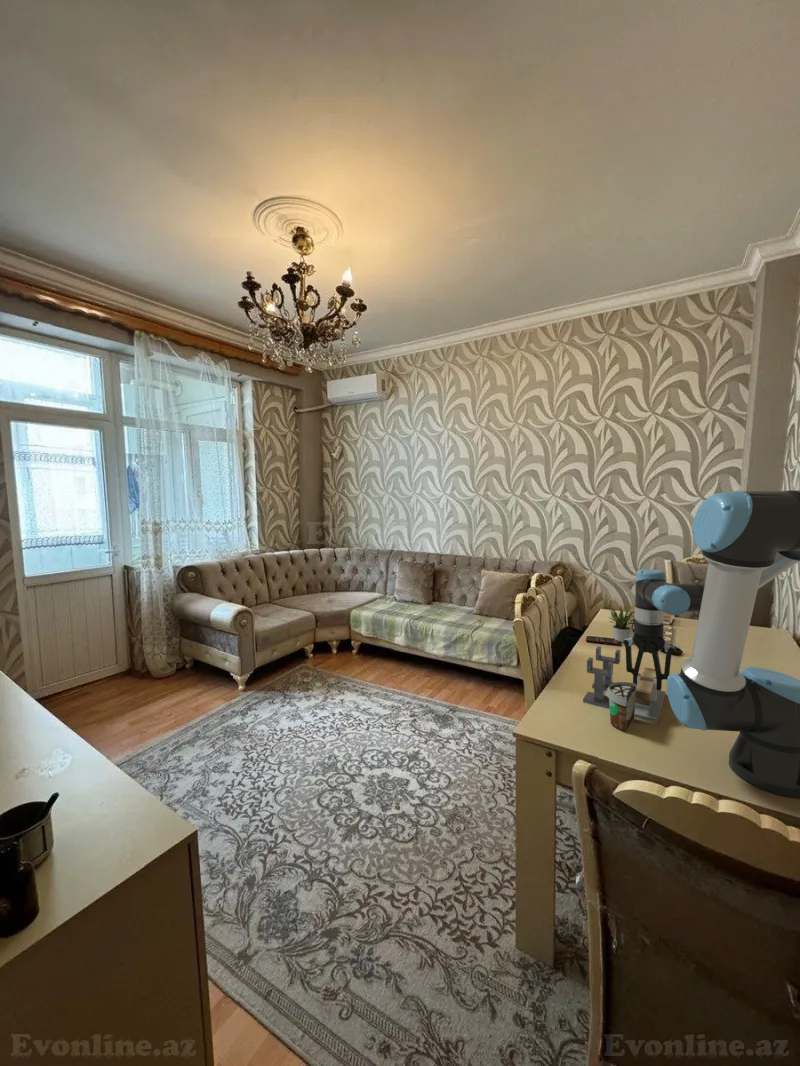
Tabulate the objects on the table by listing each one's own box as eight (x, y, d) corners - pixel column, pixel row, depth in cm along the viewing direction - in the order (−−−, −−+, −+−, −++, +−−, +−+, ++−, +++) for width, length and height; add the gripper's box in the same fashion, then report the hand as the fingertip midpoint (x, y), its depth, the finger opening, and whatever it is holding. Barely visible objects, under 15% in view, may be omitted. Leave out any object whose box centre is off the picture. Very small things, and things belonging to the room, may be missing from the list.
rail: (657, 681, 138) (658, 669, 137) (649, 706, 121) (650, 693, 121) (644, 678, 140) (644, 667, 140) (634, 702, 124) (635, 690, 123)
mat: (657, 723, 120) (658, 719, 120) (625, 715, 125) (625, 711, 125) (665, 694, 137) (665, 691, 137) (636, 688, 142) (636, 685, 142)
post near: (615, 701, 133) (616, 660, 132) (611, 709, 128) (612, 667, 127) (587, 694, 138) (588, 655, 137) (583, 701, 133) (583, 661, 132)
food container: (612, 710, 128) (612, 677, 127) (635, 716, 124) (636, 682, 123) (600, 728, 118) (601, 692, 117) (625, 735, 114) (626, 699, 113)
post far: (622, 687, 143) (623, 649, 142) (619, 693, 138) (620, 654, 137) (596, 681, 148) (597, 644, 147) (592, 687, 143) (592, 649, 142)
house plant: (644, 639, 188) (645, 602, 187) (642, 649, 177) (643, 610, 175) (608, 634, 196) (609, 598, 195) (604, 643, 184) (605, 605, 183)
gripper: (683, 622, 127) (680, 700, 129) (620, 614, 137) (618, 686, 139) (681, 629, 121) (678, 710, 123) (615, 620, 131) (613, 695, 133)
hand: (646, 697), depth 131 cm, fingers closed on rail, 4 cm apart
